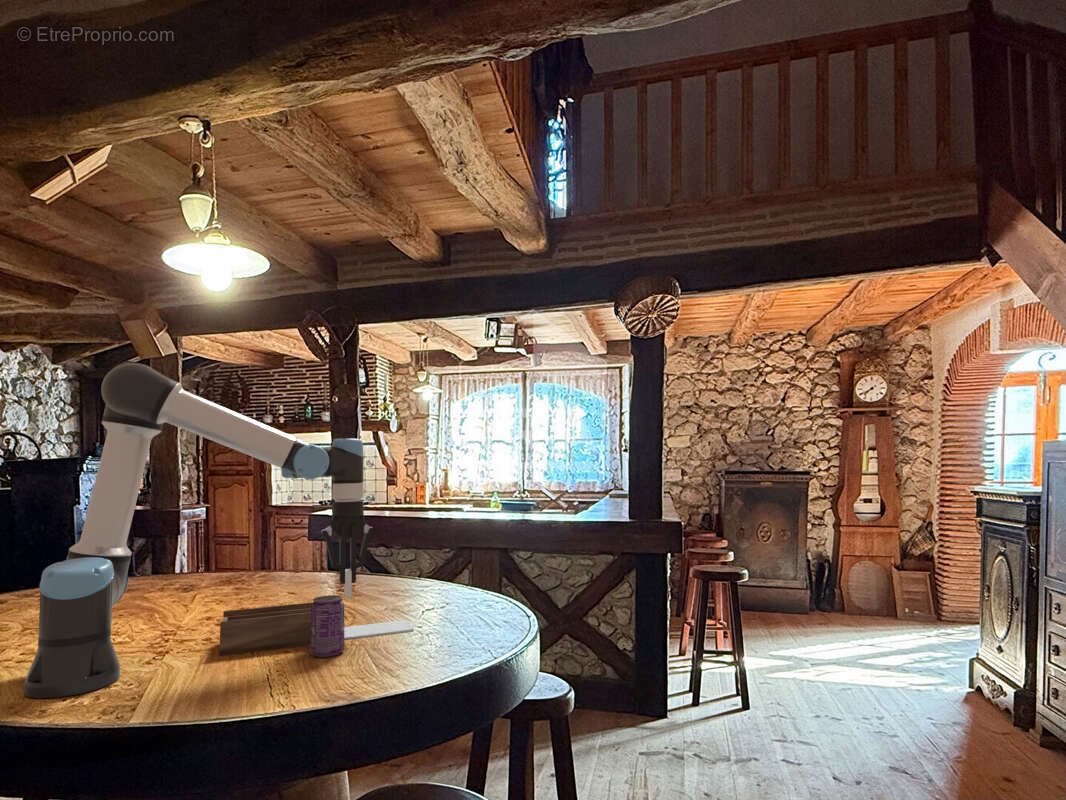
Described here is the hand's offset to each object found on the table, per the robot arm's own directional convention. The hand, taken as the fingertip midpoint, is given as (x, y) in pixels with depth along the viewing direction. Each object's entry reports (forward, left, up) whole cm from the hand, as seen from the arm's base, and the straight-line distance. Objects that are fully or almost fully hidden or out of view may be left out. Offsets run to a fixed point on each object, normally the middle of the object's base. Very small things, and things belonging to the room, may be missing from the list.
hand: (347, 596), depth 160 cm
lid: (0, -5, -9) cm, 10 cm away
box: (0, +17, -9) cm, 19 cm away
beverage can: (-16, +6, -9) cm, 19 cm away
